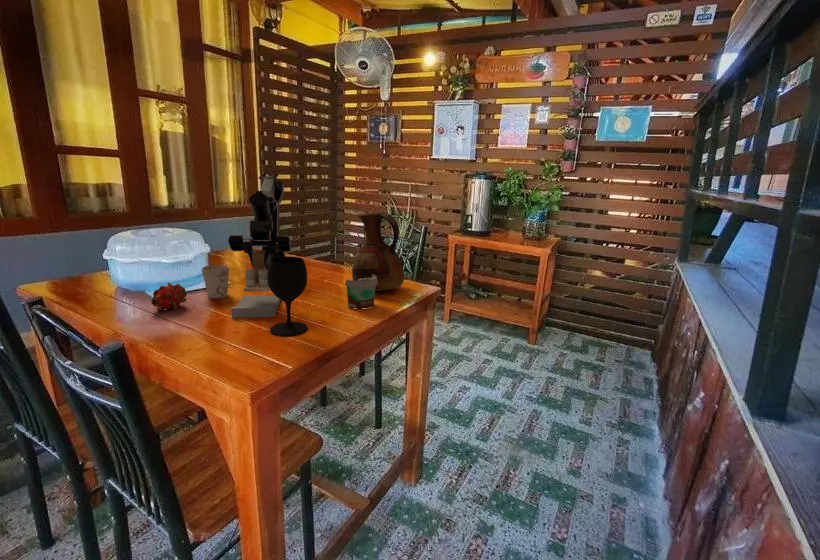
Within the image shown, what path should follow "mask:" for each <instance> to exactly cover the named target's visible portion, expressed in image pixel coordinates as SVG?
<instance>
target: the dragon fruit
mask: <svg viewBox="0 0 820 560" xmlns="http://www.w3.org/2000/svg"><path fill="white" fill-rule="evenodd" d="M152 295H153V297H152V299H151V305H153V306H154V307H155V308H156V310H157V311H158V312H160V310H161V311H163V310H164V309H167V310H169V309H173V310H174V309H176V310H177V309H178V308H179V307H180V305H181V304H184V303H186V302H187V300H188V298H186V297H187V296H188V294H187V291H186V288H185V287H183V286H182V285H181V284H180V283H176V284H171V283H170V282H167V285H160V286H159V288H158V289H155V290H154V291H153V292H152ZM164 311H165V310H164Z"/></svg>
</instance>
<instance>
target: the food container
mask: <svg viewBox="0 0 820 560" xmlns="http://www.w3.org/2000/svg"><path fill="white" fill-rule="evenodd" d="M344 283H345V284H344V286H346V294H347V307H350V308H357V309H362V308H369V307H372V306H373V307H374V303H375V295H376V291H375V288H376V285H377V284H378V280H377V278H376V276H375V275H373V274H372V277H369V278H359V279H356V280H354V281H353V279H345V282H344ZM373 307H372V308H373ZM350 308H349V309H350Z"/></svg>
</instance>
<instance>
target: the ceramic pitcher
mask: <svg viewBox="0 0 820 560" xmlns="http://www.w3.org/2000/svg"><path fill="white" fill-rule="evenodd" d="M356 216H357V218H358V219H360V221H361V222H362V223H363V228H364V235H365V238H364V243H363V244H362V246H361V247H360V248H359V249H358V250H357V253H356V254H355V256H354V259H353V264H352V269H351V271H352V272H351V273H352V275H351V277H352V280H353V281H354V280H356V279H359V278H369V277H372V274H373V275H375V276H376V278H377V280H378V284H377V285H376V288H375V292H376V291H377V292H380V291H388V290H392V289H396V288H401V287H402V285H403V283H404V281H405V271H404V267H403V263H402V261H401V259H400V257H399V254H398V253H397V251H396V247H397V244H398V241H399V238H400V228H399V227H400V226H399V224H398V222H397V220H396V219H395V217H393V215H391V214H390V213H387V212H385V211H381V212H378V211H377V212H366V213H359V214H358V213H357V215H356ZM382 220H385V221H387V222H388V223H389V224H390V226H391V228H392V230H393V231H392V232H393V238H392V242H391V245H389V244H387V243H386V242H385V241H384V239H383V236H382V231H381V230H382V228H381V225H382Z"/></svg>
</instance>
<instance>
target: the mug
mask: <svg viewBox="0 0 820 560" xmlns="http://www.w3.org/2000/svg"><path fill="white" fill-rule="evenodd" d="M201 273H202V277H203V281H204V285H205V289H206V295H207V297H208V298H209V299H222V298H225V297H227V296H228V289H229V275H230V266H228V265H226V264H225V265H224V264H214V265H213V264H211V265H205V266H203V267H202V268H201Z"/></svg>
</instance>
